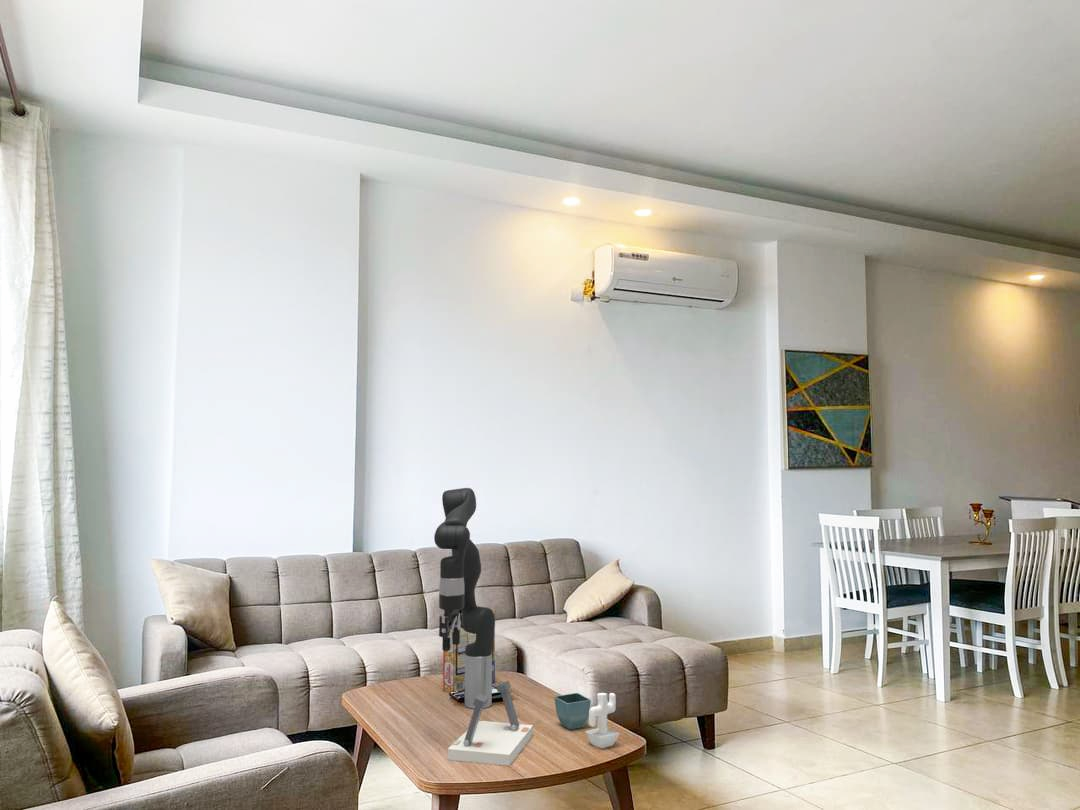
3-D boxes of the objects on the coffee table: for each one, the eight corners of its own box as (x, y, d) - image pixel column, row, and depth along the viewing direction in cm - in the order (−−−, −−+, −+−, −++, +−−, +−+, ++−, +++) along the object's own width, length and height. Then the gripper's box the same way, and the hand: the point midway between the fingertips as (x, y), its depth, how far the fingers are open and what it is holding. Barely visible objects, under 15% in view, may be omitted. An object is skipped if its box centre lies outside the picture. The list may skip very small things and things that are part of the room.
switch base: (477, 730, 257) (477, 719, 258) (533, 735, 253) (533, 724, 253) (447, 759, 232) (447, 747, 232) (509, 765, 228) (509, 753, 228)
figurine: (582, 744, 245) (582, 693, 246) (606, 738, 250) (606, 688, 251) (598, 751, 239) (597, 698, 240) (622, 745, 245) (622, 693, 245)
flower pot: (567, 733, 255) (567, 703, 256) (553, 724, 263) (553, 696, 264) (591, 728, 259) (591, 699, 260) (577, 720, 267) (577, 692, 268)
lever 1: (465, 739, 239) (480, 693, 239) (474, 742, 238) (488, 697, 238) (460, 744, 234) (475, 698, 234) (469, 748, 234) (484, 701, 234)
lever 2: (513, 727, 252) (500, 682, 254) (522, 725, 251) (508, 680, 253) (509, 732, 247) (496, 686, 249) (518, 729, 247) (504, 684, 249)
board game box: (484, 680, 315) (485, 608, 316) (495, 683, 310) (496, 610, 312) (442, 691, 300) (443, 615, 302) (452, 694, 296) (453, 618, 298)
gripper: (448, 588, 256) (447, 641, 255) (431, 595, 243) (430, 652, 242) (471, 589, 255) (470, 643, 253) (455, 596, 241) (454, 653, 240)
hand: (451, 647), depth 248 cm, fingers open, 8 cm apart
